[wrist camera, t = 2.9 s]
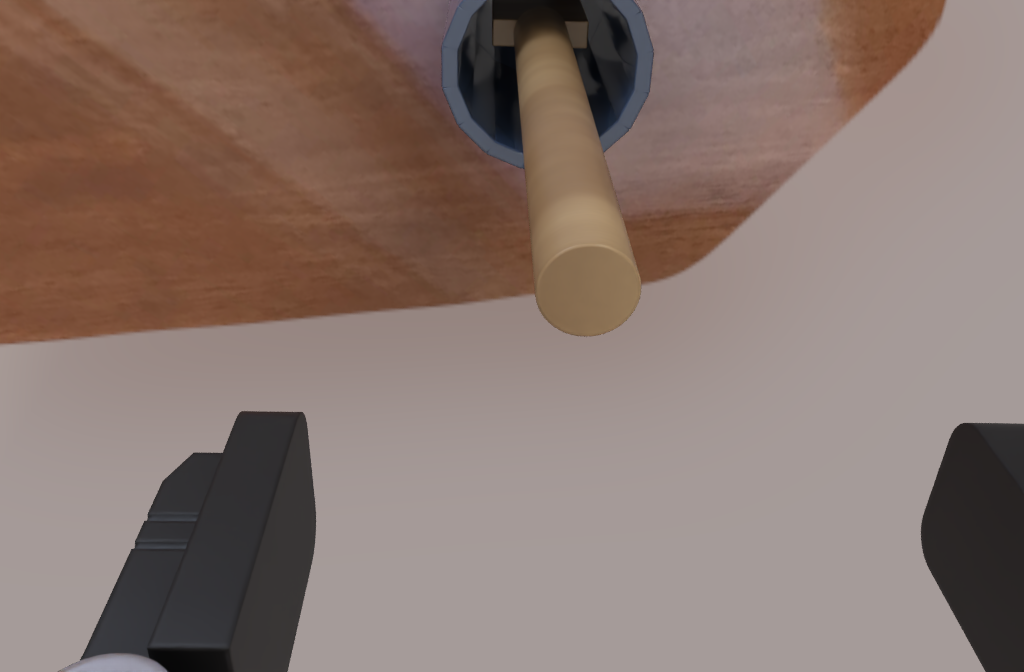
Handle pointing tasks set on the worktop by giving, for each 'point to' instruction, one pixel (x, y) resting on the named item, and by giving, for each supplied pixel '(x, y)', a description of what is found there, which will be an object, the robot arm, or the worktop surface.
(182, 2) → the worktop surface
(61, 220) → the worktop surface
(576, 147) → the wooden stirring stick
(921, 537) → the robot arm
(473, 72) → the crock
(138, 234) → the worktop surface
